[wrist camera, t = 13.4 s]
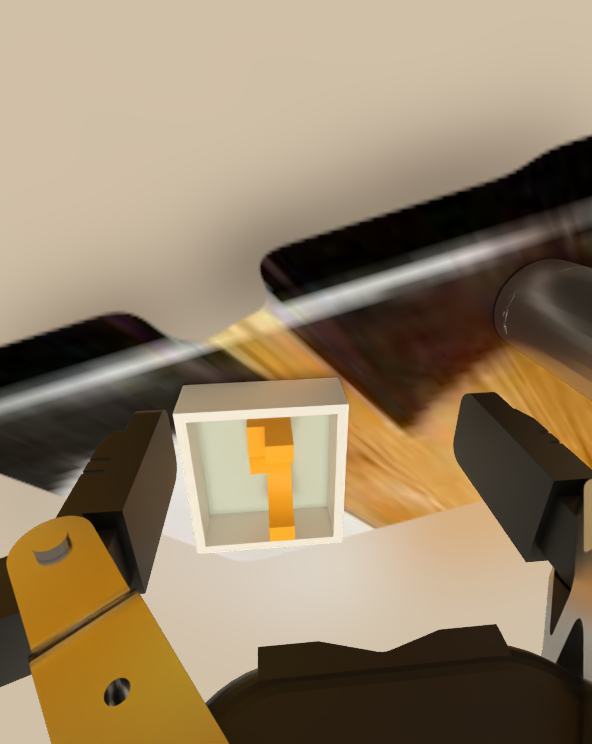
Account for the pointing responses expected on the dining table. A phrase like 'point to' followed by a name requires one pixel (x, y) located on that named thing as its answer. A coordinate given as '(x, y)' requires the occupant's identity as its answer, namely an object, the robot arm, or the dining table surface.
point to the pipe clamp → (274, 470)
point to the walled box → (232, 468)
